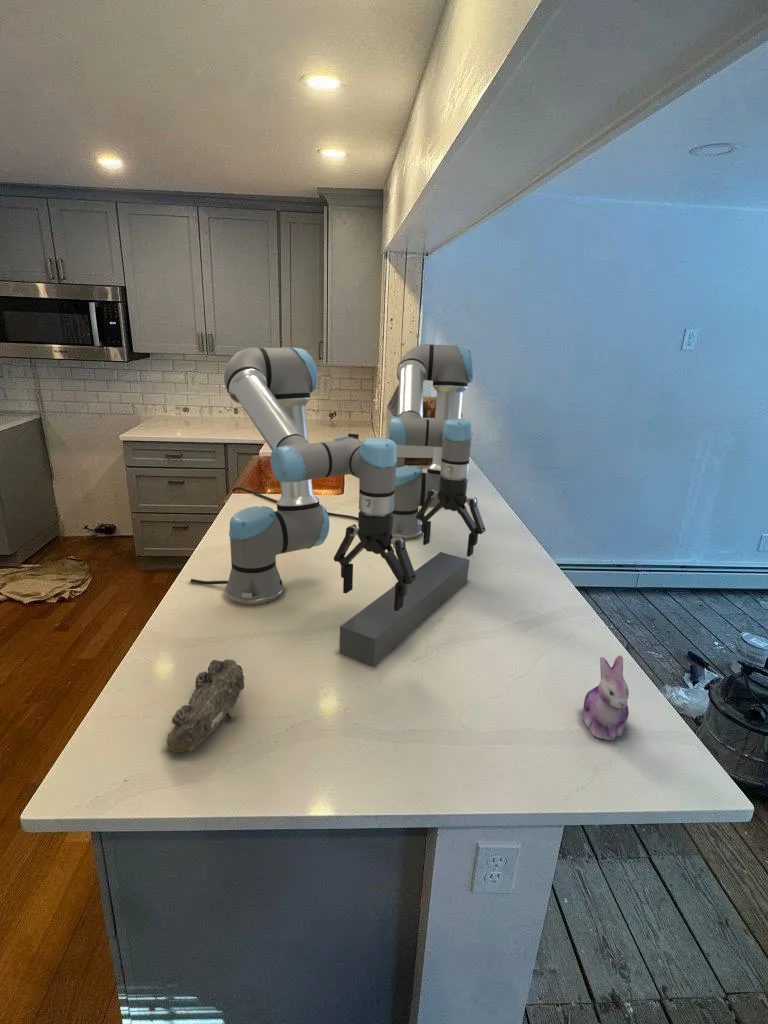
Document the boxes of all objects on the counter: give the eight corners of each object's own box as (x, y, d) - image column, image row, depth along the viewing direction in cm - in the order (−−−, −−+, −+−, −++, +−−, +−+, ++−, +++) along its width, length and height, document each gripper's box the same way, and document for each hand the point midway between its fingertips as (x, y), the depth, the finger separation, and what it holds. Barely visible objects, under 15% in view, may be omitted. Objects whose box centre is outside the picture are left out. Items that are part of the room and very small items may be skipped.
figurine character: (358, 454, 309) (358, 445, 322) (358, 441, 305) (359, 432, 319) (345, 454, 308) (347, 445, 322) (346, 441, 305) (347, 432, 319)
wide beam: (438, 572, 172) (440, 551, 169) (467, 581, 167) (469, 559, 165) (339, 652, 130) (339, 626, 127) (373, 666, 125) (375, 639, 123)
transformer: (382, 463, 289) (386, 382, 275) (445, 464, 293) (451, 384, 279) (390, 482, 257) (394, 392, 243) (460, 483, 261) (468, 394, 247)
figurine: (608, 750, 104) (623, 681, 99) (567, 715, 113) (579, 651, 107) (643, 734, 108) (659, 668, 103) (601, 702, 117) (614, 640, 112)
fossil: (192, 660, 117) (244, 628, 112) (224, 691, 120) (276, 661, 115) (142, 746, 98) (202, 712, 93) (182, 779, 101) (242, 748, 96)
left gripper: (318, 503, 124) (318, 590, 131) (419, 529, 112) (412, 623, 119) (338, 495, 130) (337, 578, 137) (436, 519, 118) (429, 608, 125)
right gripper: (407, 471, 156) (402, 543, 163) (492, 488, 145) (483, 564, 152) (419, 466, 163) (415, 535, 170) (502, 482, 151) (494, 555, 158)
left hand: (372, 599), depth 128 cm, fingers open, 13 cm apart
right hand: (447, 549), depth 161 cm, fingers open, 13 cm apart
